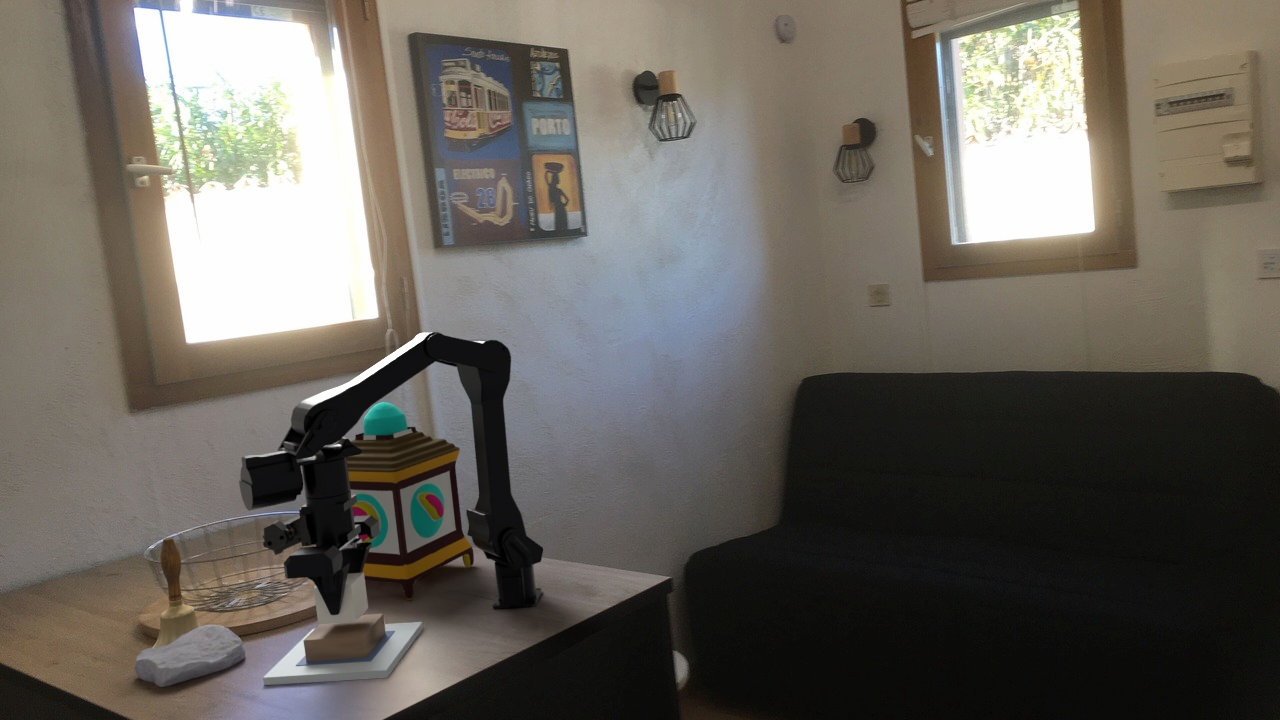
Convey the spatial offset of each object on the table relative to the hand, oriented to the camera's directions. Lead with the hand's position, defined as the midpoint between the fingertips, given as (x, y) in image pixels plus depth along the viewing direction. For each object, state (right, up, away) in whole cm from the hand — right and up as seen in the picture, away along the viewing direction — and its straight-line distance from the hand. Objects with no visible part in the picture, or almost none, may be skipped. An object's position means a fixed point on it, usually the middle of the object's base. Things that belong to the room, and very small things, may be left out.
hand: (342, 607), depth 128 cm
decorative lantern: (0, -4, +32) cm, 32 cm away
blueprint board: (+1, -7, +1) cm, 7 cm away
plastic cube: (0, -1, 0) cm, 1 cm away
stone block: (-20, -9, +1) cm, 22 cm away
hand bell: (-26, -8, +9) cm, 29 cm away
